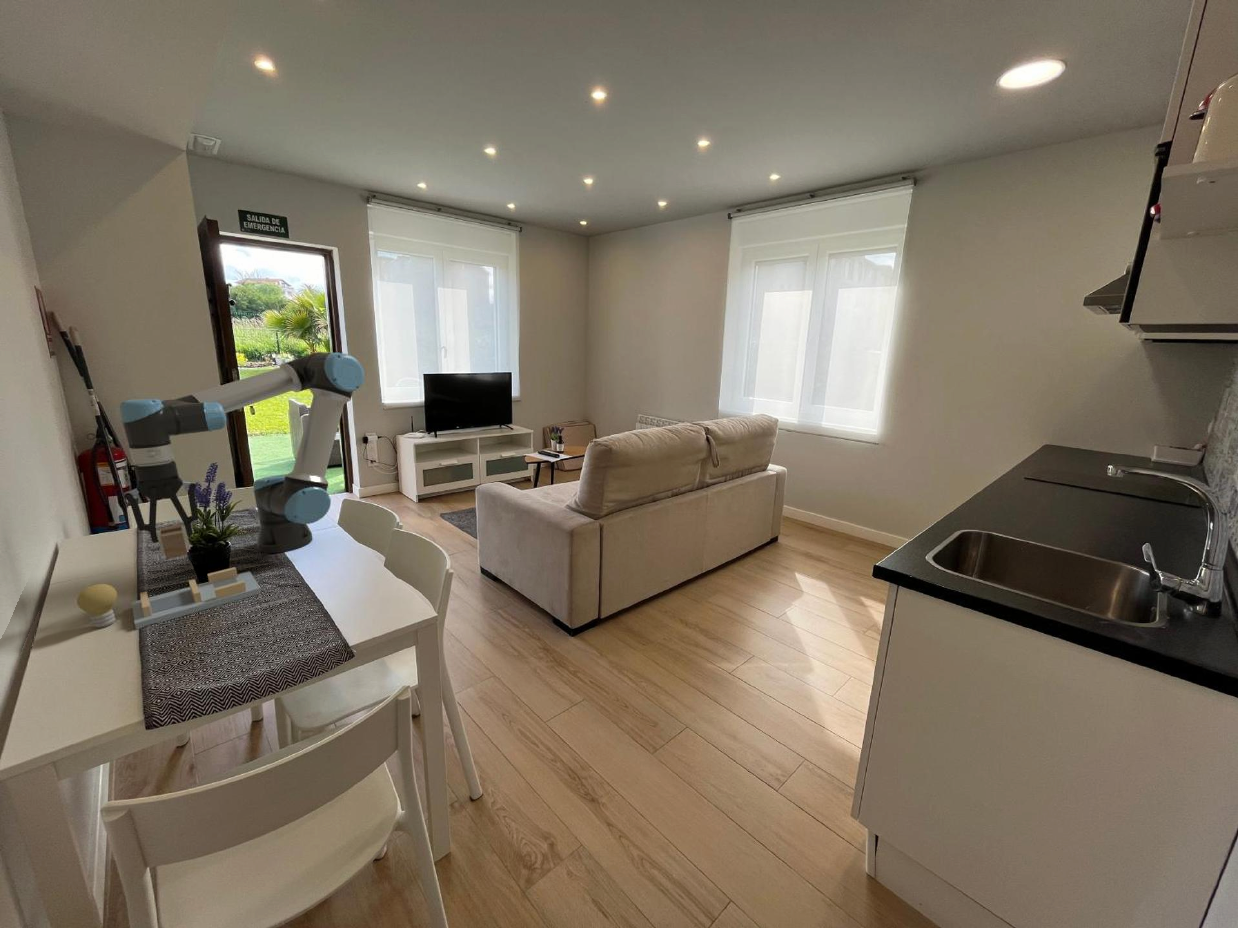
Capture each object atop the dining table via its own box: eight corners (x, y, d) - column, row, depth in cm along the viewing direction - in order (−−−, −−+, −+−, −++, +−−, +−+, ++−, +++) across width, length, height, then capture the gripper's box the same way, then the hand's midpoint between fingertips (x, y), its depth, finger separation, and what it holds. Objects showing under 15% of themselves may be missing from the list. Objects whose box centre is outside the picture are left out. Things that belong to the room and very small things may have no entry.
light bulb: (85, 635, 111) (73, 595, 108) (84, 625, 115) (73, 586, 112) (124, 624, 115) (114, 585, 113) (122, 614, 119) (113, 576, 117)
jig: (133, 607, 123) (129, 592, 122) (250, 576, 139) (248, 563, 138) (136, 629, 113) (132, 613, 112) (261, 592, 130) (258, 579, 129)
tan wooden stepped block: (165, 549, 128) (160, 528, 127) (185, 545, 131) (180, 524, 129) (166, 559, 122) (160, 536, 121) (187, 554, 125) (182, 532, 124)
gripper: (104, 471, 112) (129, 565, 118) (200, 459, 124) (219, 545, 129) (106, 465, 118) (130, 555, 123) (198, 454, 129) (216, 537, 135)
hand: (176, 550), depth 126 cm, fingers closed on tan wooden stepped block, 4 cm apart
